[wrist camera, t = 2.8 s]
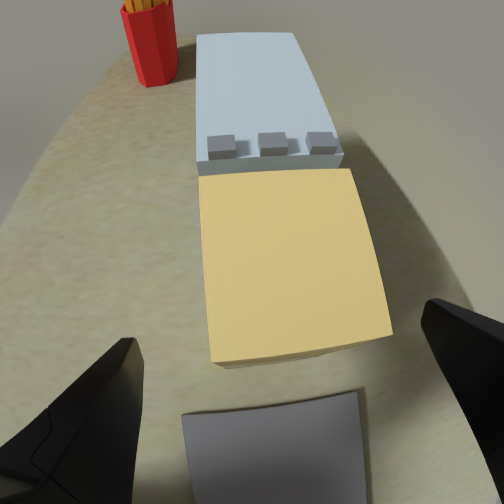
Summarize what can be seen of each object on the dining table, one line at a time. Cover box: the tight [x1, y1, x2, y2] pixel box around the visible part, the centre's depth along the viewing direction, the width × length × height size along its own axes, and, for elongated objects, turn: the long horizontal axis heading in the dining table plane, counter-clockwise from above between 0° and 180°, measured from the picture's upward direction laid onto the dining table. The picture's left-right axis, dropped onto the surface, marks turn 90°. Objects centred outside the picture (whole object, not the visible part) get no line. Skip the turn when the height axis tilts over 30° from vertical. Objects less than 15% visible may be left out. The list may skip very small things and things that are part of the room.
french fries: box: [120, 0, 178, 87], centre depth 21 cm, size 8×4×12 cm, turn 6°
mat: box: [181, 391, 367, 504], centre depth 14 cm, size 12×10×1 cm
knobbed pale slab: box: [196, 32, 344, 176], centre depth 15 cm, size 8×4×11 cm, turn 7°
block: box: [199, 169, 393, 369], centre depth 13 cm, size 5×4×11 cm
